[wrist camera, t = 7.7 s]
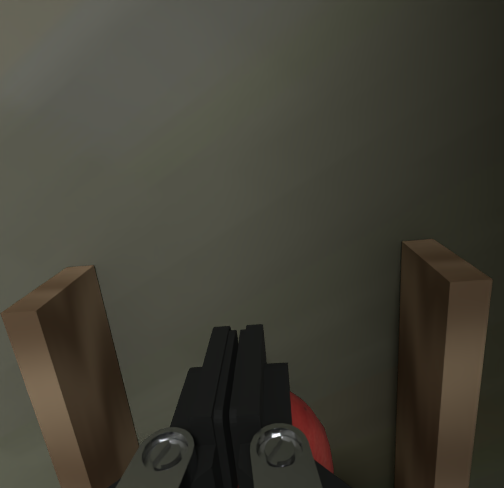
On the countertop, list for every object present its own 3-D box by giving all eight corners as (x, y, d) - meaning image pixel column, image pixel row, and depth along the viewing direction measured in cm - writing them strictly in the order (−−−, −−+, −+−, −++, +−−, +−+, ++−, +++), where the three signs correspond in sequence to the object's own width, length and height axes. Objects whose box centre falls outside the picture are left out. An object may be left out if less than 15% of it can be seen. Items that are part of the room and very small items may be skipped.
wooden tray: (66, 267, 15) (0, 313, 12) (432, 238, 14) (492, 279, 10) (134, 513, 20) (102, 604, 16) (417, 505, 19) (455, 602, 15)
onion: (238, 457, 18) (217, 692, 11) (171, 376, 17) (92, 579, 9) (340, 410, 17) (397, 637, 9) (277, 319, 16) (285, 499, 8)
